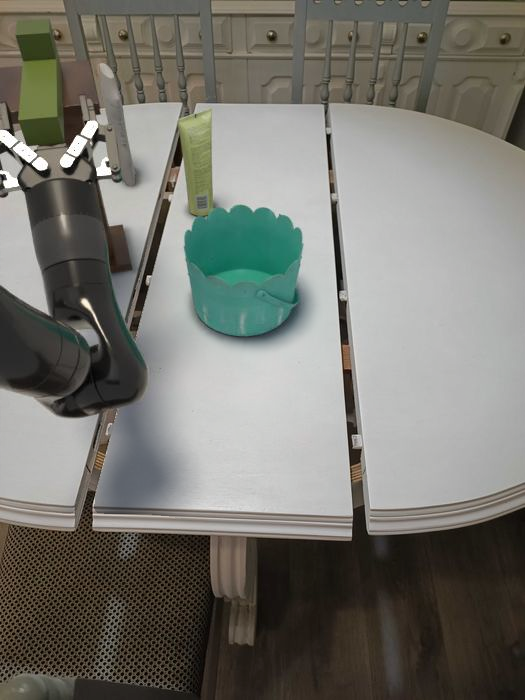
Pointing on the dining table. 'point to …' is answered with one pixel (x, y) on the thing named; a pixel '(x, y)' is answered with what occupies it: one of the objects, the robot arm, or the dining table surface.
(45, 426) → the dining table surface
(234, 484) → the dining table surface
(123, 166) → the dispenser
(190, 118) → the tube
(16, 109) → the brown wooden podium
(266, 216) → the bucket
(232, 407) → the dining table surface
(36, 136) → the green l-shaped block
